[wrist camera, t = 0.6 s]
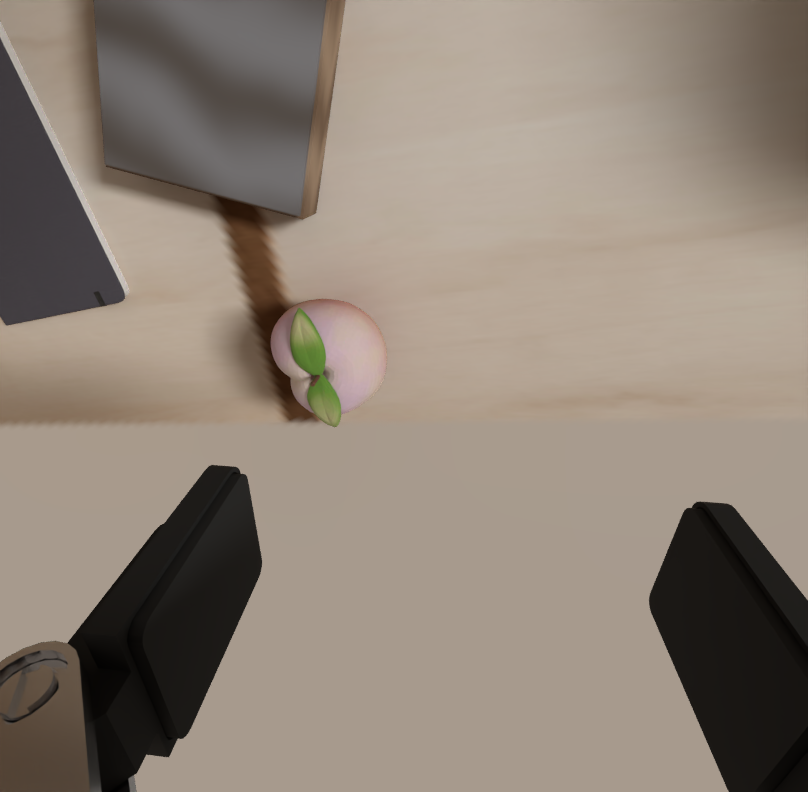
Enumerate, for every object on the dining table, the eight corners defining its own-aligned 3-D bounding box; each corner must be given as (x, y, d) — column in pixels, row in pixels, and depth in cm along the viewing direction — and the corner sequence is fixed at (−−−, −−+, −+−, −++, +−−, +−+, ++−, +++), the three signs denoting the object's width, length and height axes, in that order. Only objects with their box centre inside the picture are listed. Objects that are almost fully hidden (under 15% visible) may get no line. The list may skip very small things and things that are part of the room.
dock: (127, -81, 28) (81, -114, 25) (347, -18, 29) (333, -42, 25) (137, 165, 35) (102, 166, 31) (316, 213, 35) (301, 219, 32)
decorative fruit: (409, 364, 41) (397, 423, 32) (327, 391, 43) (296, 453, 34) (367, 264, 37) (341, 299, 28) (279, 298, 39) (230, 341, 30)
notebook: (-149, 44, 33) (20, 320, 43) (-175, 39, 32) (5, 326, 42) (-6, -7, 31) (138, 296, 41) (-28, -15, 30) (127, 301, 39)
